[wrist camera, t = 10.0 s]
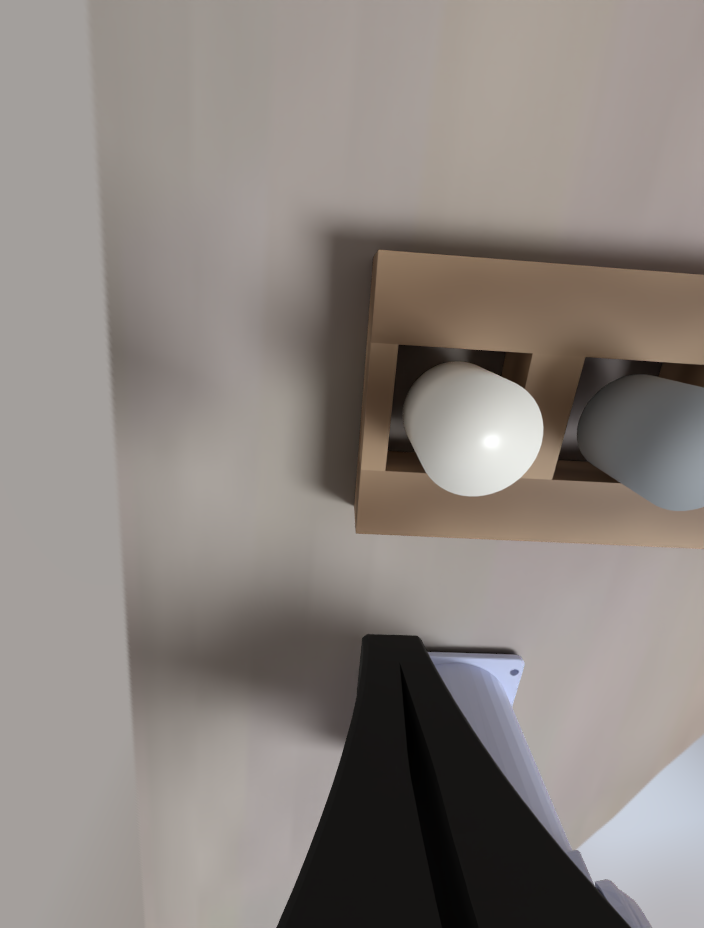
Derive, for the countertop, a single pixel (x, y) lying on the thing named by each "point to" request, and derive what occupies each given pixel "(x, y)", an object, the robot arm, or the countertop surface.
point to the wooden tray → (540, 373)
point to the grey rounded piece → (648, 438)
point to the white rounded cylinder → (472, 428)
